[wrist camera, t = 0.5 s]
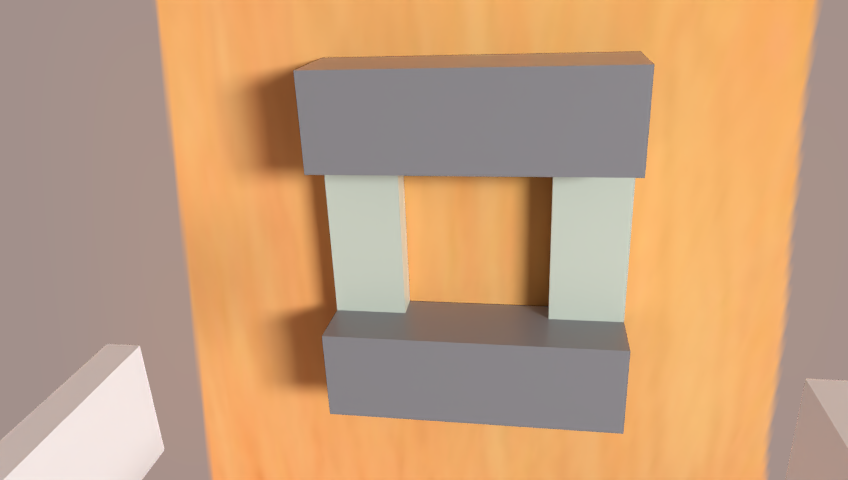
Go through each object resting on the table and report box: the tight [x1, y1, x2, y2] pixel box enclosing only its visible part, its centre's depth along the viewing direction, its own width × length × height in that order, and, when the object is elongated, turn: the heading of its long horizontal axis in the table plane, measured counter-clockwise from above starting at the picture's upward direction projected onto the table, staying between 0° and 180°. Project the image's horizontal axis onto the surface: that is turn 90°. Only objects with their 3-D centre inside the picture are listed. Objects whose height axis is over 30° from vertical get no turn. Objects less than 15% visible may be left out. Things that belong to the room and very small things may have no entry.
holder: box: [293, 51, 654, 434], centre depth 36 cm, size 19×16×4 cm
